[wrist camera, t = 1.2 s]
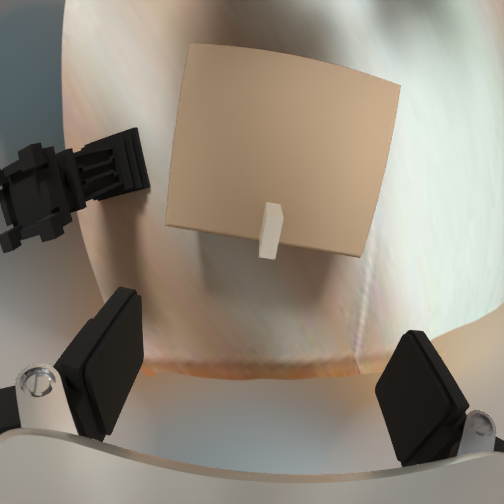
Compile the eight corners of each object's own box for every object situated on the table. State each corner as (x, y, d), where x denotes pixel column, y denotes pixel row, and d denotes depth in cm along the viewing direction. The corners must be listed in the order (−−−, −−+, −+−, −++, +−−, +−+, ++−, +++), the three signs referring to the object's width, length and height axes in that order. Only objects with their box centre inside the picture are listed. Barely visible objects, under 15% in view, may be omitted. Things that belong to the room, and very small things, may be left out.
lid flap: (191, 44, 20) (177, 29, 16) (397, 86, 21) (422, 80, 16) (167, 221, 26) (150, 240, 22) (359, 253, 27) (375, 276, 23)
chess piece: (137, 127, 34) (33, 137, 16) (150, 186, 37) (61, 242, 19) (87, 145, 35) (-22, 171, 16) (100, 199, 38) (3, 258, 19)
